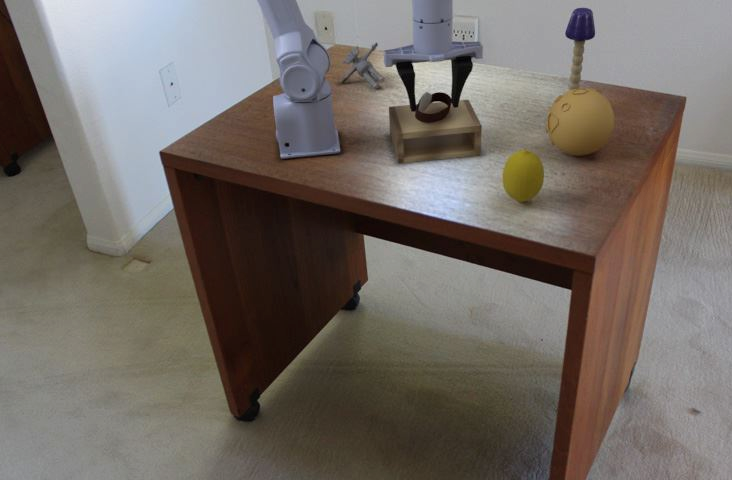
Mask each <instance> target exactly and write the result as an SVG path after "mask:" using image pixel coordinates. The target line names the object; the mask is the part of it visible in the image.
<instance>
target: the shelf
mask: <svg viewBox="0 0 732 480" xmlns="http://www.w3.org/2000/svg"><path fill="white" fill-rule="evenodd" d="M417 104H418V103H416V106H417ZM447 107H448V106H447V105H446V104H445V103H443V102H432V103H430V104H429V106H428V108H427V109H426V110H425V111H424V112H423V113H426V114H434V113H438V112H440V111H441V110H444V109H445V108H447ZM388 117H389V119H388V121H389V135H390V140H391V144H392V147H393V151H394V156H395V159H396V161H397V164H407V163H416V162H417V163H418V162H427V161H437V160H445V159H447V160H448V159H455V158H458V159H459V158H466V157H478V156H481V155H482V130H483V129H482V126H483V125H482V123H481V121H480V120H479V117H478V115H477V114H476V111H475V109H474V107H473V105H472V104H471V102H470V100H469V99H460V100H459V105H458V107H457V108H454V107H453V105H452V103H451V107H450V111H449V113H448V114H447V116H446V117H445V118H444V119H442V120H439V121H436V122H432V123H425V122H421V121H419V120H417V119H416V118H415V112H411V109H410V104H406V105H394V106H388Z"/></svg>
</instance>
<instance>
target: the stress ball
mask: <svg viewBox="0 0 732 480" xmlns="http://www.w3.org/2000/svg"><path fill="white" fill-rule="evenodd" d="M544 126H545V132H546V134H547V135H548V137H549V139H548V140H549V142H550V143H551V144H552V146H555V148H557V149H558V150H559V151H561V152H563V153H565V154H567V155H570V156H575V157H576V156H577V157H578V156H587V155H591V154H593V153H595V152H597V151H598V150H600V149H601V148H602V147H604V145H606V144H607V142H608V141H609V140H610V137H611V136H612V134H613V132H614V126H615V114H614V110H613V107H612V105H611V103H610V102H609V100H608V99H607V97H605V96H604V95H603V94H601V91H600V90H598V89H597V88H594V87H590V86H587V87H586V88H584V87H579V88H578V89H573V90H570V91H569V90H568V91H566V92H564V93H563V94H560V95H559V96H558V97H556V98H555V100H554V101H553V103H552V104H551V106H550V108H549V110H548V113H547V116H546V122H545V125H544Z"/></svg>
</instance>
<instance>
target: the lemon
mask: <svg viewBox="0 0 732 480" xmlns="http://www.w3.org/2000/svg"><path fill="white" fill-rule="evenodd" d="M544 179H545V170H544V165H543V162H542V160H541V158H540V157H539V156H538V155H537V154H536V153H535V152H533V151H531V150H528V149H522V150H518V151H516V152H513V153H512V154H511V155H510V156H509V157H508V159H507V160H506V161H505V164H504V167H503V170H502V185H503V189H504V192H505V193H506V194H507V196H508V197H510V198H512V199H513V200H514V201H518V203H520V204H523V203H524V202H528V201H530V200H532V199H534V198H535V197H537V196H538V195H539V193H540V191H541V190H542V188H543V184H544Z"/></svg>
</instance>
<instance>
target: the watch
mask: <svg viewBox="0 0 732 480" xmlns="http://www.w3.org/2000/svg"><path fill="white" fill-rule="evenodd" d="M417 102H418V103H416V104H417V106H416V111H415V118H416V119H417V120H419V121H421V122H425V123H432V122H436V121H439V120H442V119H444V118H445V117H446V116H447V114H448V113H449V111H450V107H451V103H452V101H451V95H449V94H448V93H446V92H441V91H438V92H435V93H434V92H433V93H430V92H428V91H426V92H424V93H423V94H422V95H421V97H420V99H419V100H418V101H417ZM436 102H443V103H445V104H446V105H447V106H448V107H447V108H445V109H444V110H441V111H440V112H438V113H434V114H426V113H423V112H424V111H425V110H426V109H427V108H428V106H429V104H430V103H436Z"/></svg>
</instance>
